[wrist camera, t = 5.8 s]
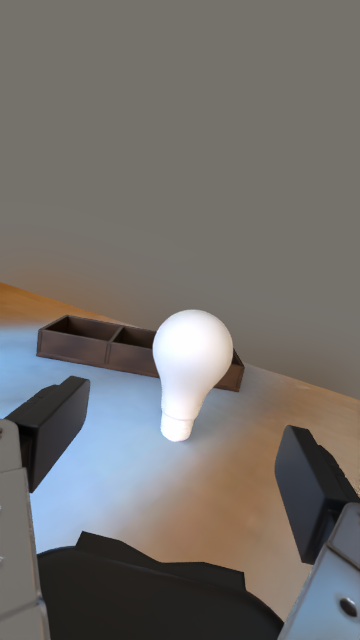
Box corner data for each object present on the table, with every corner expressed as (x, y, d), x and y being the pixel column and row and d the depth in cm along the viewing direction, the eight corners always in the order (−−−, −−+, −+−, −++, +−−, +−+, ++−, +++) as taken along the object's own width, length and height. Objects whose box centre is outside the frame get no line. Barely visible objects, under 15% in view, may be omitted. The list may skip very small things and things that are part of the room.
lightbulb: (126, 422, 25) (147, 298, 23) (186, 414, 28) (210, 304, 26) (155, 473, 20) (186, 320, 17) (224, 457, 23) (259, 324, 21)
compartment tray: (35, 356, 34) (38, 329, 33) (63, 336, 42) (66, 314, 42) (238, 392, 35) (245, 367, 35) (227, 366, 44) (232, 345, 43)
